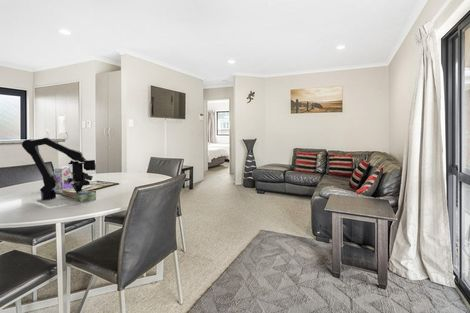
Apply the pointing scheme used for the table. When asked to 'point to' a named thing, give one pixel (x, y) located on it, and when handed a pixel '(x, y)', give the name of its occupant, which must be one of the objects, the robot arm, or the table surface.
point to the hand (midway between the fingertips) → (78, 194)
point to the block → (84, 192)
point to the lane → (81, 197)
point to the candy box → (63, 177)
